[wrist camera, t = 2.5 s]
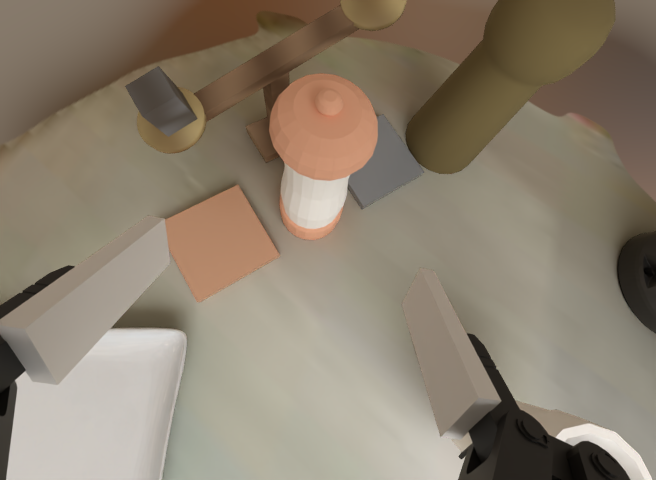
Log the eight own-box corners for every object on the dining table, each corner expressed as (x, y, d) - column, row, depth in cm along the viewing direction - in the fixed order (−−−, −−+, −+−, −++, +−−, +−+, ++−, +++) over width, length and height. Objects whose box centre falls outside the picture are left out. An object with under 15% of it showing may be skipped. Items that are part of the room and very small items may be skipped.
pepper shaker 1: (287, 179, 33) (278, 27, 15) (343, 191, 34) (401, 60, 15) (275, 233, 31) (246, 137, 13) (333, 245, 32) (386, 170, 13)
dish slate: (380, 118, 37) (383, 114, 36) (420, 175, 36) (424, 172, 35) (321, 147, 35) (322, 143, 34) (361, 209, 34) (363, 206, 33)
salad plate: (-21, 319, 26) (-66, 322, 23) (200, 325, 29) (187, 328, 25) (-111, 589, 21) (-186, 643, 18) (164, 569, 24) (143, 613, 20)
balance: (351, 83, 38) (384, -47, 24) (373, 115, 37) (422, 1, 23) (171, 161, 32) (73, 50, 18) (194, 201, 31) (110, 119, 17)
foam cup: (489, 484, 28) (645, 632, 16) (416, 438, 28) (513, 548, 16) (517, 399, 31) (673, 468, 18) (450, 356, 31) (558, 396, 18)
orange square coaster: (239, 187, 32) (237, 184, 31) (280, 256, 31) (279, 254, 30) (160, 226, 30) (155, 224, 29) (200, 302, 29) (197, 302, 28)
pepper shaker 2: (487, 156, 38) (672, 19, 19) (431, 185, 36) (579, 62, 17) (448, 99, 39) (585, -78, 21) (392, 124, 37) (488, -51, 19)
